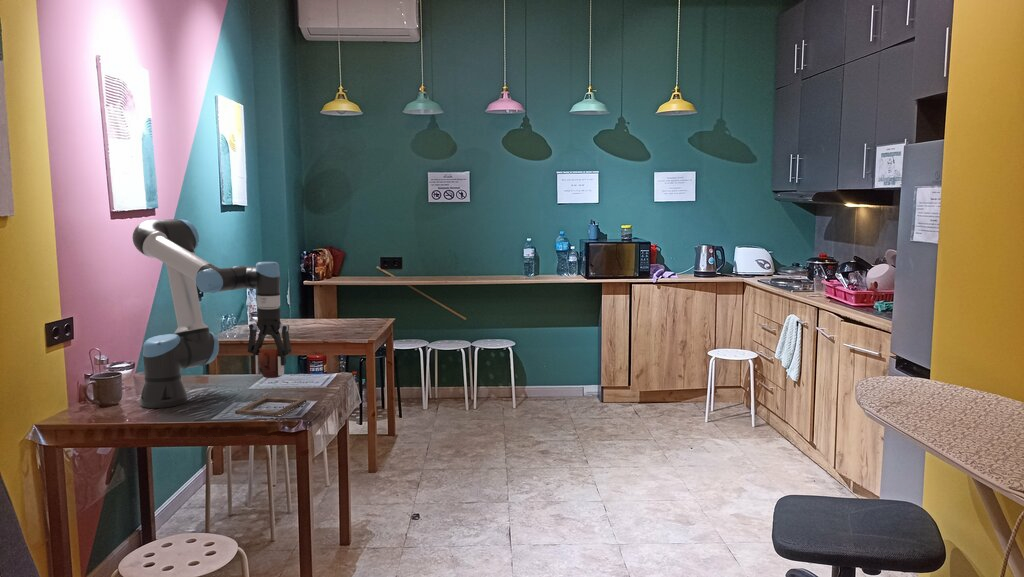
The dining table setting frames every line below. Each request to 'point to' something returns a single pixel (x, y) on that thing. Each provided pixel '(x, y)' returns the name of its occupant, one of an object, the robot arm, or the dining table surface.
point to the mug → (269, 361)
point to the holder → (257, 412)
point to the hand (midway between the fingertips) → (270, 373)
